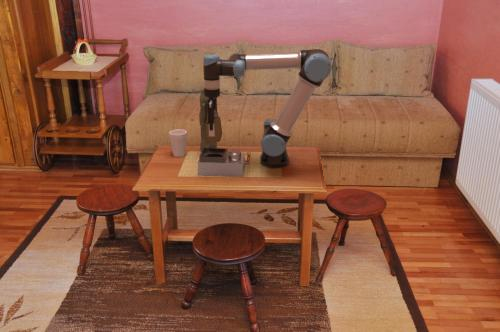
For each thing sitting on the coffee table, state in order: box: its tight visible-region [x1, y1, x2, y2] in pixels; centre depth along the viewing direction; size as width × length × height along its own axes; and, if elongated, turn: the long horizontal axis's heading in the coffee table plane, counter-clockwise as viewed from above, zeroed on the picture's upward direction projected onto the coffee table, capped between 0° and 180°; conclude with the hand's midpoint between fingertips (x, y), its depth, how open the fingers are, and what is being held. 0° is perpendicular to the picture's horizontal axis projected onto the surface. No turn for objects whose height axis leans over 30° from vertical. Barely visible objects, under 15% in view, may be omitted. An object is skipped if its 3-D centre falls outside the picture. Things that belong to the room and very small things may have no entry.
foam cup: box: [168, 128, 188, 158], centre depth 280 cm, size 10×9×13 cm
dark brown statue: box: [198, 90, 218, 153], centre depth 276 cm, size 9×12×35 cm
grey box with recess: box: [197, 147, 246, 178], centre depth 263 cm, size 22×18×10 cm
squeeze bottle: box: [206, 109, 223, 143], centre depth 254 cm, size 8×8×18 cm
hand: (213, 133), depth 256 cm, fingers closed on squeeze bottle, 8 cm apart
